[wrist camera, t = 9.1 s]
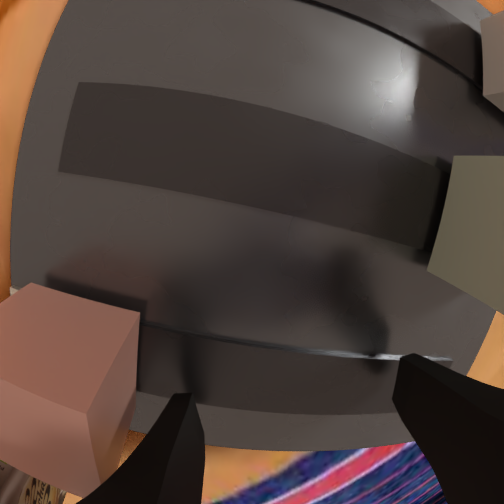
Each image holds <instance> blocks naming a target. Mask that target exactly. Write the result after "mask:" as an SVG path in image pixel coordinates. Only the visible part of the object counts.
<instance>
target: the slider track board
mask: <svg viewBox="0 0 504 504" xmlns="http://www.w3.org/2000/svg"><path fill="white" fill-rule="evenodd" d="M492 15H493V14H492V13H491V12H489V11H488V10H487V9H486V8H485V7H483V6H482V5H481V4H480V3H478V2H477V1H476V0H69V1H68V3H67V5H66V7H65V9H64V11H63V13H62V15H61V17H60V20H59V22H58V24H57V26H56V28H55V31H54V33H53V35H52V38H51V40H50V43H49V45H48V48H47V51H46V53H45V56H44V59H43V61H42V64H41V67H40V70H39V73H38V76H37V79H36V82H35V86H34V89H33V92H32V96H31V99H30V103H29V107H28V111H27V115H26V119H25V123H24V128H23V133H22V138H21V143H20V148H19V154H18V160H17V166H16V174H15V181H14V190H13V201H12V215H11V239H10V262H11V287H10V296H11V295H13V294H14V293H16V292H17V291H19V290H20V289H22V288H23V287H25V286H26V285H28V284H29V283H34V284H38V285H41V286H44V287H47V288H50V289H54V290H57V291H60V292H64V293H67V294H71V295H74V296H78V297H81V298H85V299H89V300H92V301H96V302H100V303H104V304H107V305H111V306H115V307H119V308H123V309H127V310H132V311H136V312H140V322H139V335H138V351H137V372H136V409H135V412H134V415H133V418H132V421H131V424H130V427H129V430H132V431H137V432H141V433H145V434H147V433H148V432H149V430H150V429H151V428H152V426H153V425H154V423H155V422H156V420H157V419H158V417H159V416H160V414H161V413H162V411H163V410H164V408H165V406H166V405H167V403H168V402H169V400H170V398H171V397H172V395H173V394H174V393H192V392H193V396H194V399H195V403H196V406H197V410H198V413H199V417H200V420H201V424H202V427H203V430H204V435H205V445H211V446H220V447H229V448H239V449H251V450H269V451H330V450H347V449H360V448H370V447H379V446H386V445H394V444H400V443H406V442H412V441H415V440H414V439H413V437H412V436H411V434H410V433H409V431H408V430H407V428H406V427H405V425H404V423H403V422H402V420H401V418H400V416H399V414H398V412H397V410H396V408H395V405H394V403H393V401H392V396H393V391H394V386H395V381H396V376H397V371H398V366H399V360H400V357H402V356H405V355H408V354H412V353H416V354H418V355H421V356H423V357H425V358H428V359H430V360H432V361H434V362H436V363H438V364H440V365H443V366H445V367H447V368H449V369H451V370H453V371H456V372H458V373H460V374H462V375H465V376H466V375H467V373H468V371H469V370H470V368H471V366H472V364H473V362H474V360H475V358H476V356H477V354H478V352H479V350H480V347H481V345H482V343H483V341H484V339H485V337H486V334H487V332H488V330H489V327H490V325H491V323H492V320H493V318H494V315H495V313H496V310H495V309H493V308H492V307H490V306H488V305H487V304H485V303H483V302H482V301H480V300H478V299H476V298H475V297H473V296H471V295H470V294H468V293H466V292H464V291H463V290H461V289H459V288H457V287H455V286H454V285H452V284H450V283H448V282H446V281H445V280H443V279H441V278H439V277H437V276H435V275H434V274H432V273H430V272H428V271H427V268H428V264H429V261H430V258H431V255H432V251H433V248H434V244H435V241H436V237H437V233H438V230H439V226H440V222H441V218H442V214H443V209H444V205H445V200H446V196H447V191H448V186H449V181H450V176H451V170H452V164H453V158H454V156H504V112H503V111H501V110H500V109H499V108H498V107H497V106H495V105H494V104H493V103H492V102H490V101H489V100H488V99H486V98H485V97H484V96H483V54H482V38H481V27H480V20H483V19H485V18H487V17H490V16H492Z"/></svg>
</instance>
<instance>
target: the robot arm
mask: <svg viewBox="0 0 504 504" xmlns="http://www.w3.org/2000/svg"><path fill="white" fill-rule="evenodd" d="M392 401H393V403H394V405H395V408H396V410H397V412H398V414H399V416H400V418H401V420H402V422H403V423H404V425H405V427H406V428H407V430H408V431H409V433H410V434H411V436H412V437H413V439H414V440H415V442H416V443H417V445H418V446H419V448H420V449H421V451H422V452H423V454H424V455H425V457H426V458H427V460H428V461H429V463H430V465H431V467H432V468H433V470H434V472H435V475H436V477H437V479H438V481H439V483H440V486H441V488H442V490H443V493H444V496H445V498H446V501H447V503H448V504H504V389H501V388H497V387H494V386H491V385H488V384H485V383H482V382H480V381H477V380H474V379H472V378H469V377H467V376H465V375H462V374H460V373H458V372H456V371H453V370H451V369H449V368H447V367H445V366H443V365H440V364H438V363H436V362H434V361H432V360H430V359H428V358H425V357H423V356H421V355H418V354H416V353H412V354H408V355H405V356H402V357H400V360H399V366H398V371H397V376H396V381H395V386H394V391H393V396H392ZM204 466H205V435H204V430H203V427H202V424H201V420H200V417H199V413H198V410H197V406H196V403H195V399H194V396H193V392H192V393H174V394H173V395H172V397H171V398H170V400H169V402H168V403H167V405H166V406H165V408H164V410H163V411H162V413H161V414H160V416H159V417H158V419H157V420H156V422H155V423H154V425H153V426H152V428H151V429H150V430H149V432H148V433H147V435H146V436H145V437H144V439H143V440H142V441H141V443H140V444H139V445H138V446H137V448H136V449H135V450H134V451H133V452H132V454H131V455H130V456H129V457H128V458H127V460H126V461H125V462H124V463H123V464H122V465H121V466H120V467H119V468H118V469H117V470H116V471H115V472H114V473H113V474H112V475H111V476H110V477H109V478H108V479H107V480H106V481H105V482H103V483H102V484H101V485H100V486H99V487H98V488H96V489H95V490H94V491H93V492H91V493H90V494H89V495H88V496H86V497H85V498H83V499H82V500H80V501H79V502H77V503H76V504H201V498H202V488H203V477H204Z"/></svg>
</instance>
